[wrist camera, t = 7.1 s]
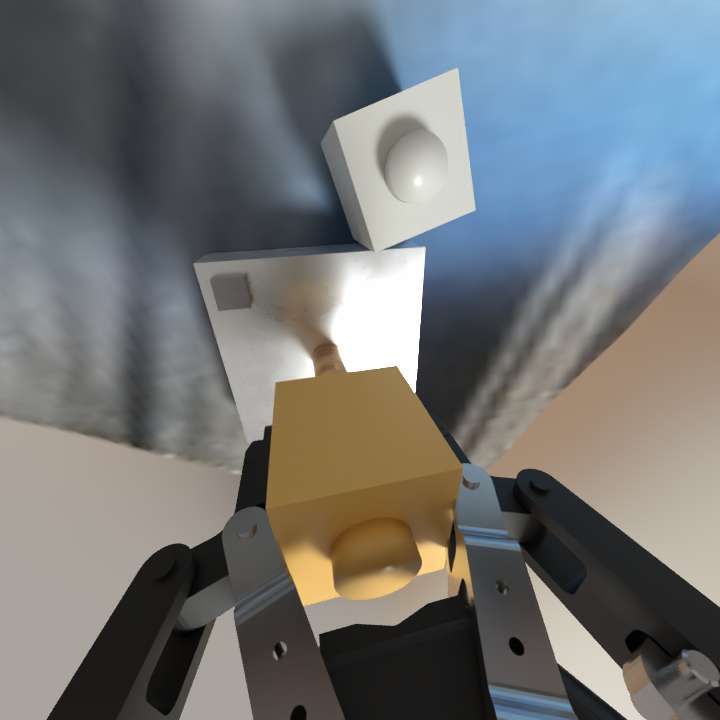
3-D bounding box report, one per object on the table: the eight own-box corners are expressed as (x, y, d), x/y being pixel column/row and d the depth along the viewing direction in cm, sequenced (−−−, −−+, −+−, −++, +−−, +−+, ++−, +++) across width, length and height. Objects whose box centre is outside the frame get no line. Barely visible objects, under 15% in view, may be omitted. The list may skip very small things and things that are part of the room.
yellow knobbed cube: (275, 382, 11) (262, 543, 6) (396, 365, 12) (480, 494, 7) (294, 469, 14) (296, 640, 9) (394, 450, 15) (454, 595, 9)
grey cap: (320, 143, 15) (336, 115, 10) (407, 106, 15) (469, 58, 10) (353, 238, 18) (379, 255, 13) (427, 206, 18) (485, 210, 13)
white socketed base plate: (207, 253, 17) (161, 284, 11) (406, 240, 19) (462, 260, 13) (252, 415, 23) (239, 493, 17) (400, 392, 25) (435, 455, 19)
